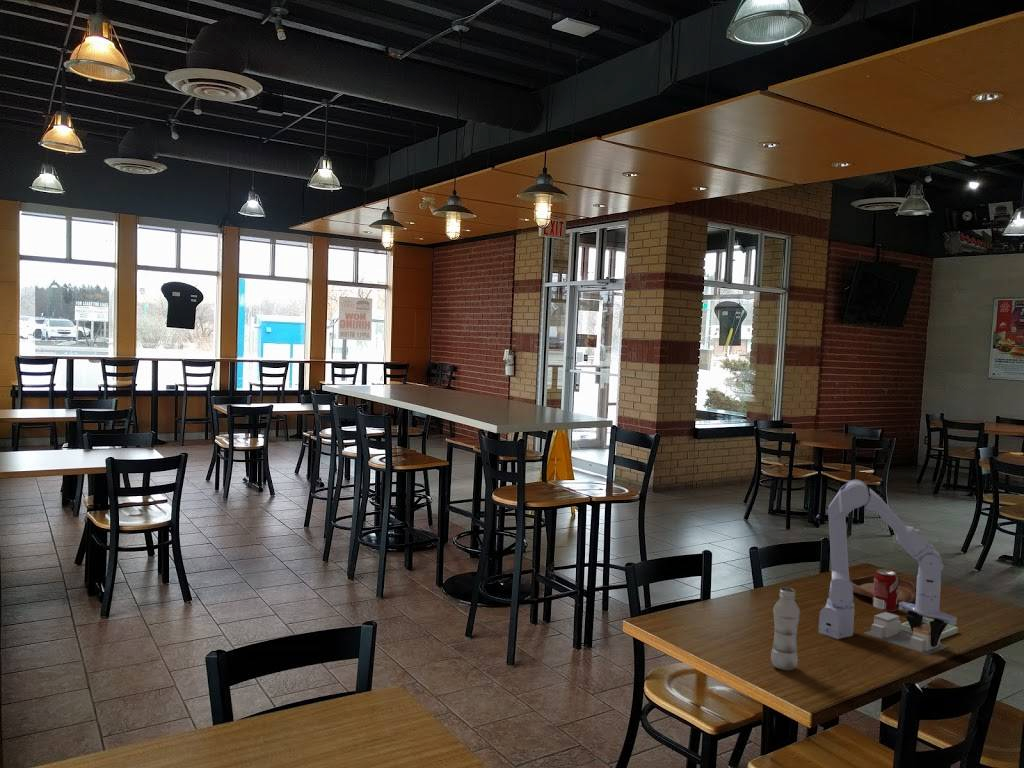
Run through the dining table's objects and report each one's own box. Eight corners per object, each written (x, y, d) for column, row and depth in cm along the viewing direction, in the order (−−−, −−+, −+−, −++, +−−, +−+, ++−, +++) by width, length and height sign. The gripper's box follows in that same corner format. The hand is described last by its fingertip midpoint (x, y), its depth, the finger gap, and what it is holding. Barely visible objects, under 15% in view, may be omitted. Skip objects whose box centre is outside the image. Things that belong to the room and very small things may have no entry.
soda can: (883, 614, 234) (885, 575, 233) (867, 606, 240) (869, 569, 240) (901, 612, 236) (903, 574, 235) (885, 605, 242) (887, 568, 241)
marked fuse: (927, 651, 203) (928, 632, 202) (912, 646, 206) (913, 628, 206) (938, 646, 206) (939, 628, 206) (923, 641, 209) (924, 623, 209)
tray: (936, 643, 210) (936, 635, 210) (899, 631, 219) (900, 624, 219) (957, 635, 217) (957, 627, 217) (921, 624, 226) (921, 616, 226)
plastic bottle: (790, 662, 194) (794, 585, 193) (802, 674, 187) (805, 594, 186) (766, 662, 194) (769, 585, 193) (776, 673, 187) (780, 594, 186)
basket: (898, 612, 236) (899, 597, 236) (835, 595, 251) (835, 581, 251) (925, 598, 251) (926, 583, 251) (864, 583, 266) (865, 569, 266)
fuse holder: (927, 657, 200) (928, 643, 200) (863, 635, 215) (863, 622, 215) (948, 649, 206) (949, 635, 206) (884, 628, 221) (884, 615, 221)
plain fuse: (886, 637, 212) (887, 619, 211) (873, 632, 215) (874, 615, 215) (898, 633, 215) (899, 616, 215) (884, 628, 218) (885, 611, 218)
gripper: (963, 599, 202) (960, 649, 202) (909, 584, 214) (906, 631, 214) (950, 603, 198) (947, 654, 198) (895, 588, 210) (893, 636, 210)
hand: (925, 643), depth 206 cm, fingers closed on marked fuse, 4 cm apart
